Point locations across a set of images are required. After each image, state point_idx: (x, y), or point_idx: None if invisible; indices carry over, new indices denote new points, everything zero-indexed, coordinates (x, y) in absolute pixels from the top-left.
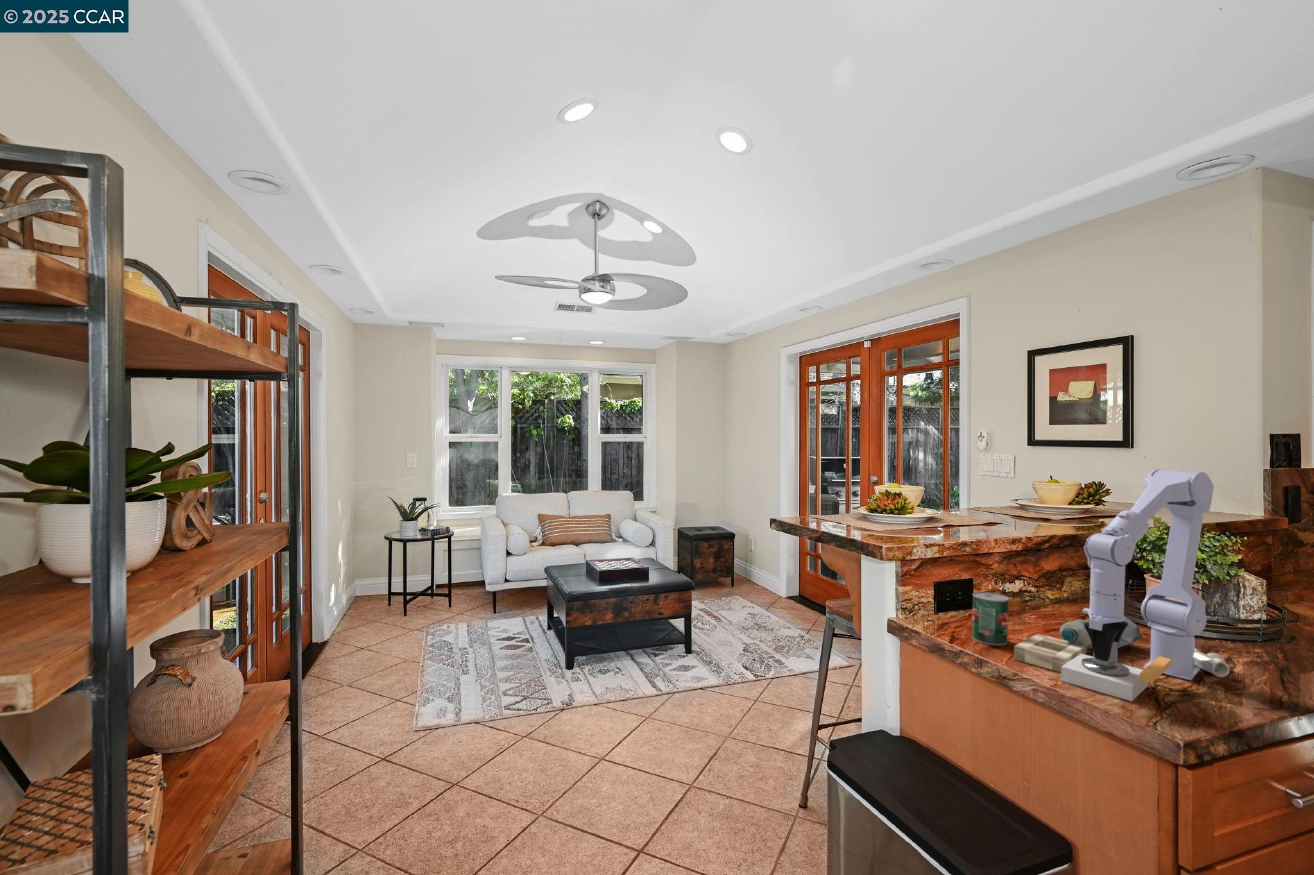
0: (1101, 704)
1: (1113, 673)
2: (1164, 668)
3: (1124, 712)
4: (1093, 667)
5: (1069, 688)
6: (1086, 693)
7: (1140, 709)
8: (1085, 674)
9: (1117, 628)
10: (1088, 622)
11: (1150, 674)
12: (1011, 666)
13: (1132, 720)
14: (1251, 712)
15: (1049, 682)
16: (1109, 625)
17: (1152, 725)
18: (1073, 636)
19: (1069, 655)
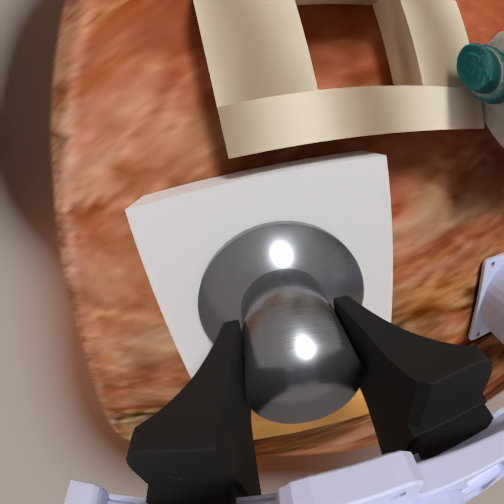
0: (106, 340)
1: None
2: None
3: (122, 377)
4: (208, 301)
5: (111, 247)
6: (129, 290)
7: (176, 387)
8: (154, 290)
9: (388, 446)
10: (206, 458)
11: (262, 433)
12: (107, 36)
13: (105, 394)
14: (370, 434)
15: (92, 189)
16: (394, 433)
17: (125, 414)
18: (481, 92)
19: (313, 139)
